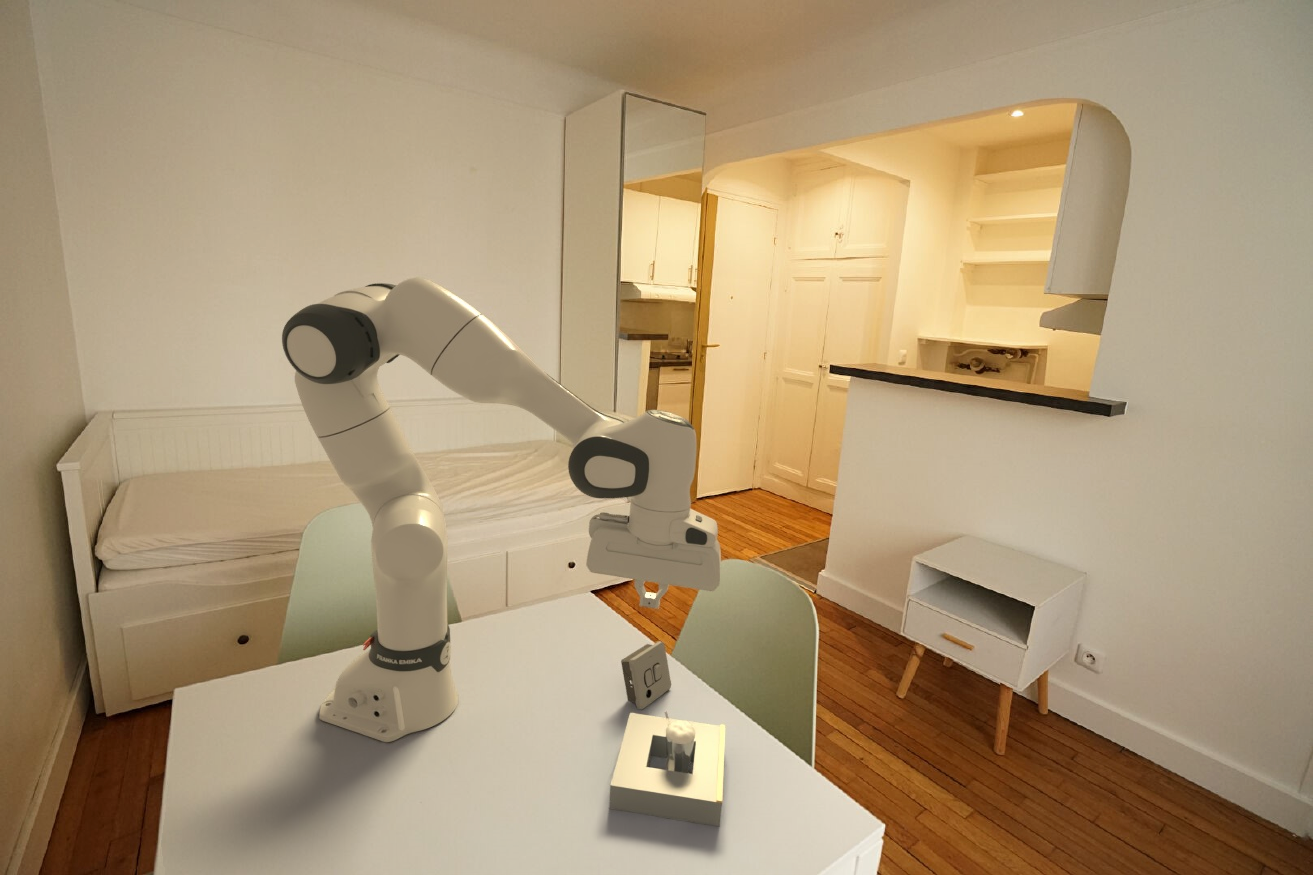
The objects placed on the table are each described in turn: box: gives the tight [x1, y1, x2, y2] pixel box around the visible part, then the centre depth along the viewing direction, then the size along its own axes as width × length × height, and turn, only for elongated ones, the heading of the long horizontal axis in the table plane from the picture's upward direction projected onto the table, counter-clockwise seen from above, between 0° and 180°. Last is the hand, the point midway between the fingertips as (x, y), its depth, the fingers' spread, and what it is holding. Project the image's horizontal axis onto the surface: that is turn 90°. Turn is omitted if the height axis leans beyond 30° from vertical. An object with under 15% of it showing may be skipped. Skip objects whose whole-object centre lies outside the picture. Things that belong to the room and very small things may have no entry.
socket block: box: [608, 712, 726, 828], centre depth 95 cm, size 16×16×4 cm
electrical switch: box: [621, 640, 672, 710], centre depth 114 cm, size 9×5×9 cm, turn 141°
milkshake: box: [664, 711, 695, 773], centre depth 95 cm, size 4×5×10 cm
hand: (649, 605), depth 93 cm, fingers closed
